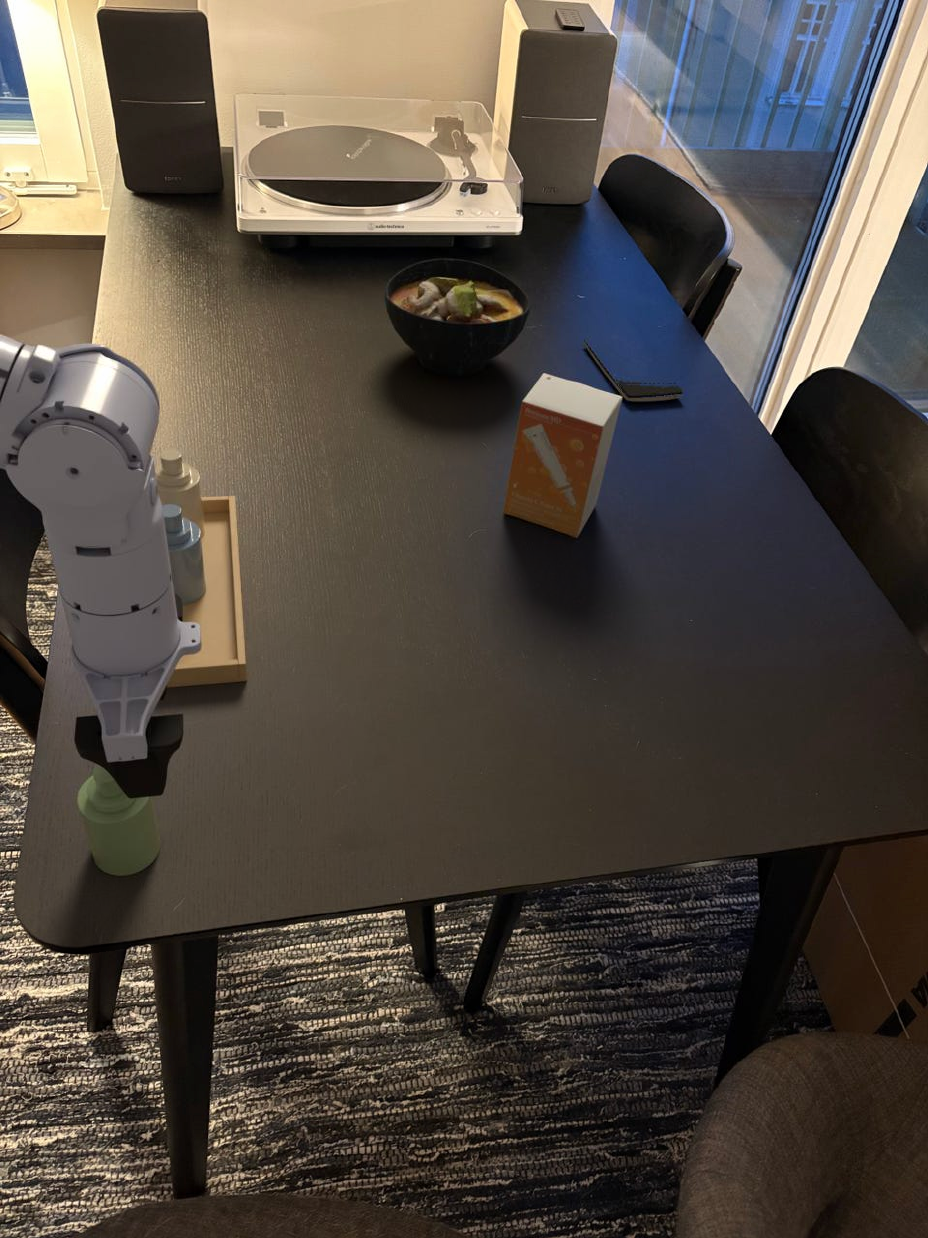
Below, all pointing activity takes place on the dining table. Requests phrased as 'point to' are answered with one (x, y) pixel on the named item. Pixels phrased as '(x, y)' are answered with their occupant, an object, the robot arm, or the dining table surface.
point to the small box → (560, 453)
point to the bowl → (455, 313)
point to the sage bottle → (118, 825)
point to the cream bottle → (180, 486)
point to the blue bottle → (185, 555)
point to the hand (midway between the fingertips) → (147, 742)
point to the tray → (217, 604)
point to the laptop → (639, 387)
